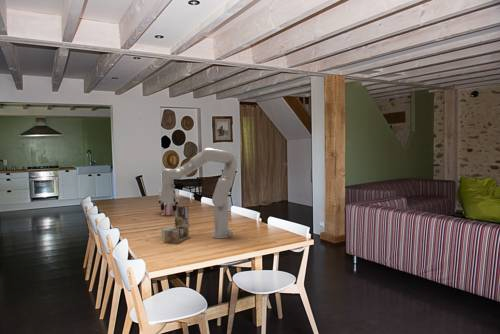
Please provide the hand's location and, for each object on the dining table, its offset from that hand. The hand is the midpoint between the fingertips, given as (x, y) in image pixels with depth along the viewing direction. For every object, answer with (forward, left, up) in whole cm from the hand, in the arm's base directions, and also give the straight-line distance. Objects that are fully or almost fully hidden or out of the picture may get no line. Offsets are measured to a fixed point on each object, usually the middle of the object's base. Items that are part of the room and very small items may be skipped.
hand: (168, 210), depth 256 cm
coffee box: (+7, -29, -18) cm, 35 cm away
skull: (+42, -67, -18) cm, 81 cm away
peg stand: (-11, +8, -18) cm, 23 cm away
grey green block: (0, 0, -18) cm, 18 cm away
